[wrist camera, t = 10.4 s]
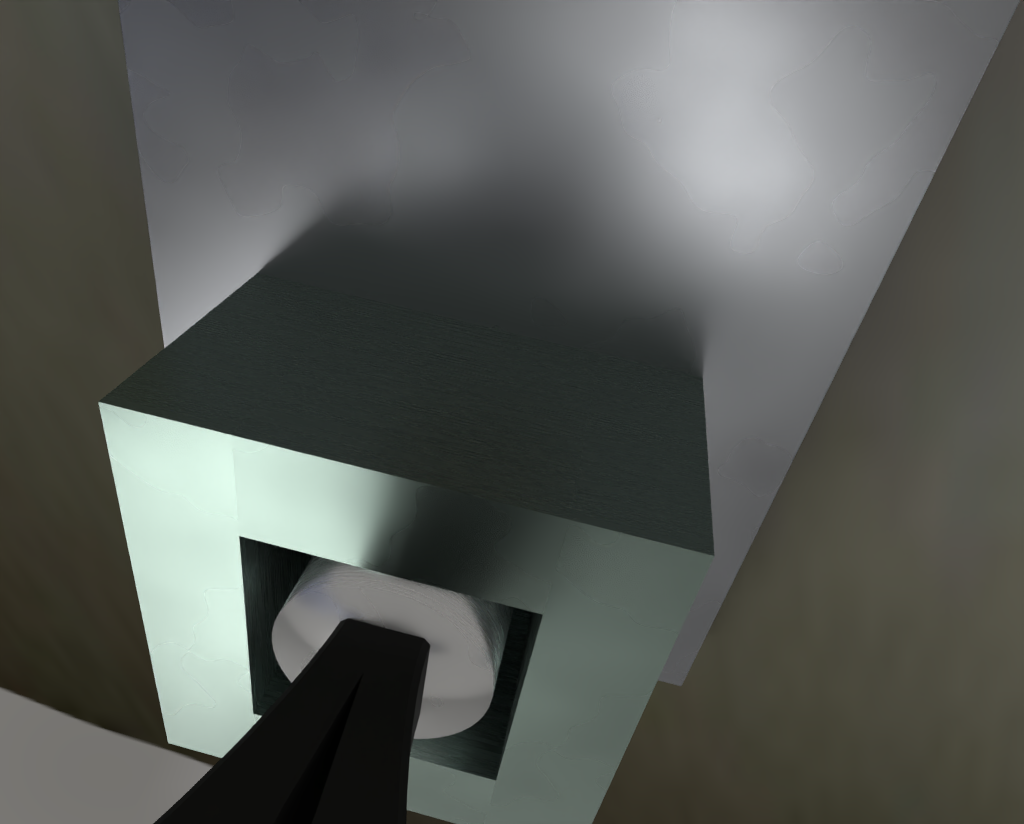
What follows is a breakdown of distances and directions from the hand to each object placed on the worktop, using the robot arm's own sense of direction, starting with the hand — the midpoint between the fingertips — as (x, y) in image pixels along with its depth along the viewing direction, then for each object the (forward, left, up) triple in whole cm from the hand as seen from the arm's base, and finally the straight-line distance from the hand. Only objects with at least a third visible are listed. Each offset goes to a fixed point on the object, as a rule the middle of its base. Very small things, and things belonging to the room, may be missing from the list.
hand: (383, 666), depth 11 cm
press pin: (0, 0, -4) cm, 4 cm away
